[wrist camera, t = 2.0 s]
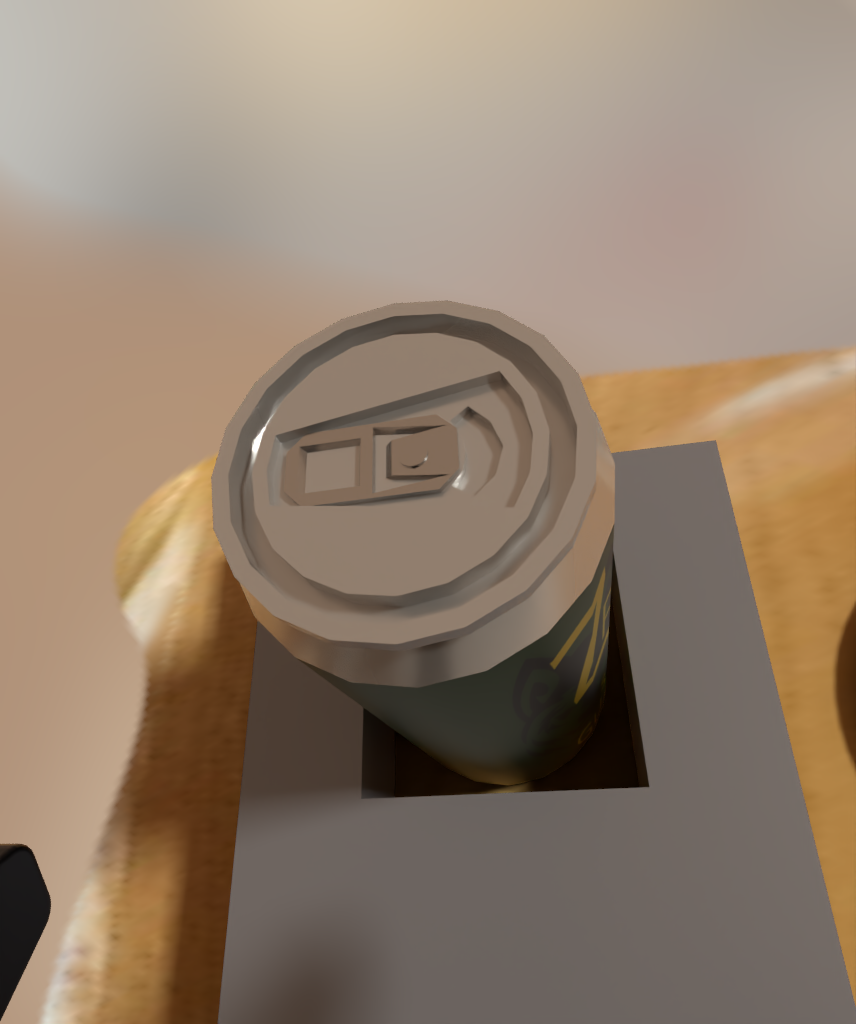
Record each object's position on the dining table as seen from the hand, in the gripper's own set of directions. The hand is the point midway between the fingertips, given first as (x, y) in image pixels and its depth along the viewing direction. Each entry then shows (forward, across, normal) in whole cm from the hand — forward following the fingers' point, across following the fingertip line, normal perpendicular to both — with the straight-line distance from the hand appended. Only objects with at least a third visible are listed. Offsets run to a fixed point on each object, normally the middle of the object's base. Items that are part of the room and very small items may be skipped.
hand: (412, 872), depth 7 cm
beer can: (+11, 0, +5) cm, 12 cm away
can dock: (+10, 0, +6) cm, 11 cm away
